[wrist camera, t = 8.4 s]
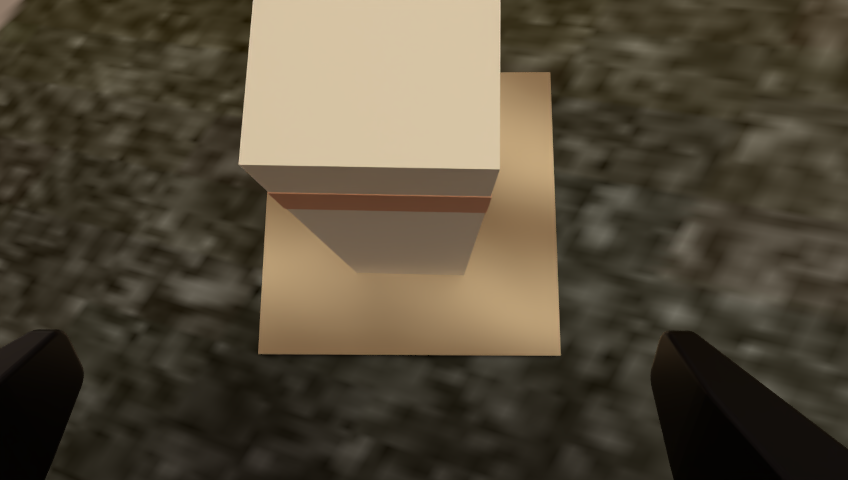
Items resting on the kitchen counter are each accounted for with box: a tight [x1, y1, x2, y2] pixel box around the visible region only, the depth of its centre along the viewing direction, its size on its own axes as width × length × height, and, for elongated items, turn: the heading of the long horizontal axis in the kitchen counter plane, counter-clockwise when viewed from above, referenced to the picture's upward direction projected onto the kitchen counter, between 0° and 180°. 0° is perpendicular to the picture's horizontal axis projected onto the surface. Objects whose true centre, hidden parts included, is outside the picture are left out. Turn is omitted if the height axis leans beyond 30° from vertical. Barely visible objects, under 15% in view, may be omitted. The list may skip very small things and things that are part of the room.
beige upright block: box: [239, 0, 500, 275], centre depth 16 cm, size 5×4×13 cm
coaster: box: [258, 72, 561, 356], centre depth 22 cm, size 11×11×1 cm
